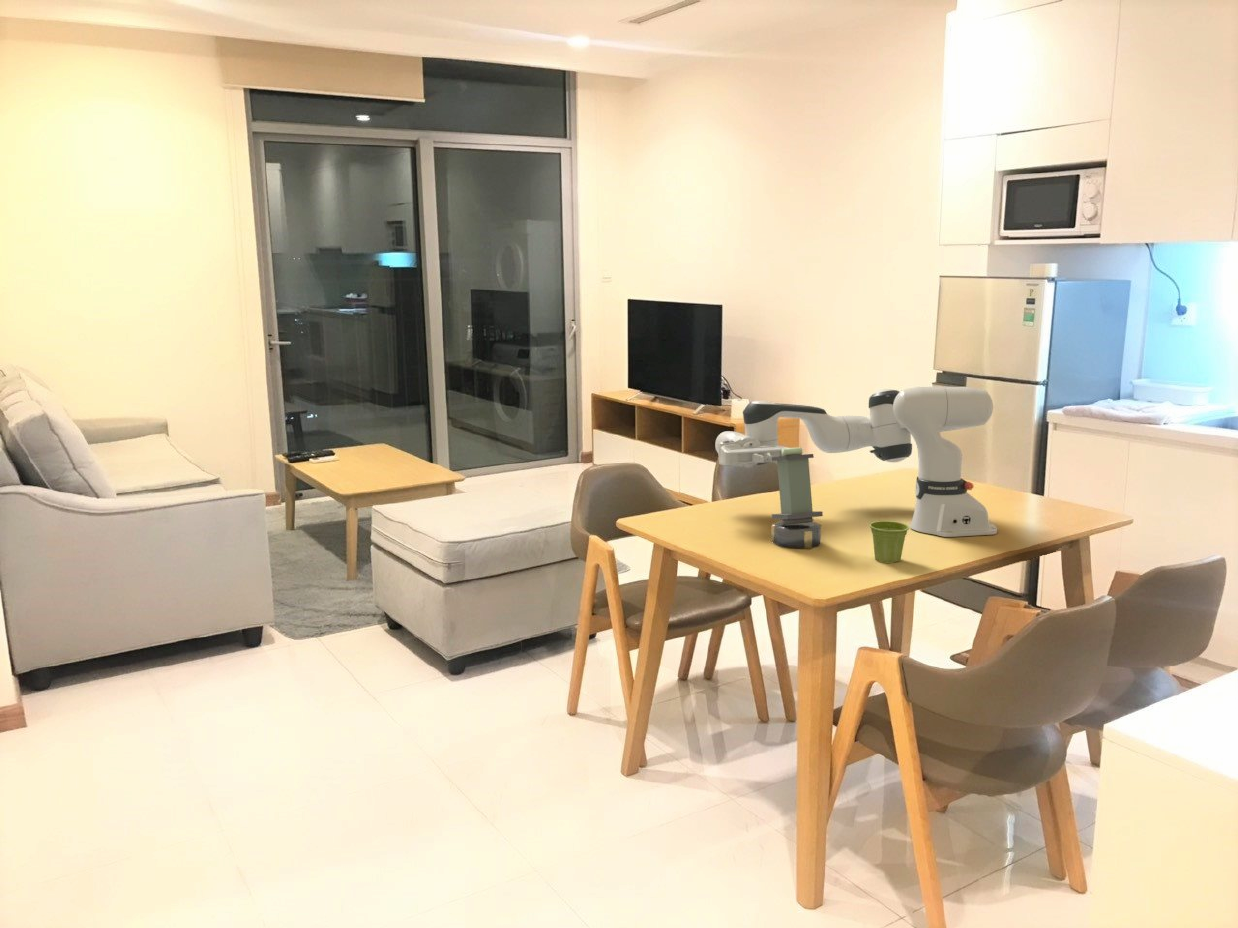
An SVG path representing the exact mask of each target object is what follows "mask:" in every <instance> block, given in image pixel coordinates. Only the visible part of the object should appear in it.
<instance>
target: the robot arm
mask: <svg viewBox="0 0 1238 928" xmlns="http://www.w3.org/2000/svg"><path fill="white" fill-rule="evenodd" d="M868 409H869V417H867V416H860V415H841V416H840V415H838V416H832V415H829V414H828V412H827V411H826V409H823V408H821V407H817V406H811V405H803V404H802V405H801V404H790V403H789V404H787V403H777V402H772V401H768V400H762V399H761V400H753V401H750V402H749V403H748V404H747V405H746V406H745V407H744V409H743V411H742V418H743V424H744V434H743V433H741V432H738V431H733V430H732V431H730V430H729V431H728V430H727V431H723V432H721V433H720V434H718V435H717V437H716V439H715V444H714V445H715V446H714V447H715V451H716V452H717V455H718V458H717V459H718V464H719V465H721V466H737V467H742V468H752V467H754V466H761V465H765V464H769V463H775V462H776V463H777V461H772V457H780V456H782V449H784V448H790V447H789V446H788V447H787V446H783V445H779V438H778V437H779V436H778V435H779V434H778V433H779V432H778V421H779V419H780V418H790V419H798V420H799V419H800V420H801V421H802V422H803V423H804V424H805V425H804V426H805V427H806V429H807V431H808V433H809V437H810V439H811V441H812V442H813V444H814V445H815V446H816V447H817V448H818V449H819V450H820V451H821V452H823V453H826V454H840V453H848V452H852V451H856V450H860V449H863V448H867V447H872V448H873V449H871V450H869V453H870V454H874V456H875V457H876V458H877V459H879V460H881V461H882V462H887V463H900V462H902V461H904V460H905V459H907V458H909V457H911V455H912V452H913V444H912V438H911V437H913V440H914V442H915V445H916V448H917V456H918V458H917V459H918V475H917V476H916V482H915V493H914V494H915V497H916V499H915V500H916V501H915V506H914V507H915V508H914V510H913V511H914V512H913V516H912V518H911V519H912V520H911V522H910V525H909V529H912V530H913V531H917V532H920V533H923V534H929V535H935V536H938V537H939V536H940V537H944V538H952V537H970V536H972V537H973V536H985V535H988V536H989V535H997V533H998V528H997V526H996V525H995V524H994V523H992V522H990V518H989V512H988V509H987V508H986V507H985V506H984V505H983V504H982V503H981V502H980V501H979V500H978V499H976V498H975V497H974V496H972V495H971V494H970V493H969V492H968V491H973V489H974V487H975V486H974V484H973V483H972V482H970V481H967V480H965V479H964V478H962V461H963V460H962V459H963V454H962V453H963V452H962V451H961V448H960V447H959V446H958V445H957V444H955V443H954V442H952V441H950V440H948V439H946V438H944V437H942V435H941V432H950V431H955V430H963V429H968V428H972V427H974V428H975V427H979V426H983V425H985V424H986V423H988V422H989V420H990V419H991V417H992V415H993V412H994V403H993V399H992V396H991V395H990V394H989V392H988V391H987V390H985V389H982V388H977V387H971V386H916V387H911V388H906V389H902V390H900V391H899V390H897V389H891V388H886V389H881V390H878V391H876V392H875V393H872V395H870V397H869V398H868Z"/></svg>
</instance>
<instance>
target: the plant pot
mask: <svg viewBox="0 0 1238 928" xmlns="http://www.w3.org/2000/svg"><path fill="white" fill-rule="evenodd" d="M869 528H870V529H871V530H870V531H871V533H872V539H873V542H872V543H873V549H874V553H873V554H874V559H875V560H876V561H879V562H881V563H887V564H893V563H896V562H900V561H901V559H902V555H903V550H904V544H905V538H906V536H907V533H908V531H909V530H910V525H909V524H907V523H903V522H901V521H900V522H899V521H895V520H894V521H893V520H892V521H890V520H880V521H879V520H876V521H872V522H871V523H869Z"/></svg>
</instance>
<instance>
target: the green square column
mask: <svg viewBox="0 0 1238 928" xmlns="http://www.w3.org/2000/svg"><path fill="white" fill-rule="evenodd" d="M813 458H815V457H814V454H813V453H806V454H803V448H802V447H789V448H784V449H782V456H780V457H772V461H777V462H776V464H777V476H778V477H777V478H778V489H779V492H778V493H779V501H780V513H773V514H771V520H781V521H782V523H783V525H789V524H799V523H809V522H812V521H813V522H814V519H813V518H815V517H816V518H817V517H823V516H824V515H823V513H824V512H823V511H820V510H819V511H818V510H817V511H816V510H815V511H813V499H812V497H813V496H812V489H811V488H812V487H811V476H810V475H811V474H810V462H809V461H810V460H809V459H813Z"/></svg>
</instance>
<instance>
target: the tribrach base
mask: <svg viewBox="0 0 1238 928" xmlns="http://www.w3.org/2000/svg"><path fill="white" fill-rule="evenodd" d="M821 527H822V525H821V524H820V523H818V522H816V521H814V520H813V521H812V522H809V523H799V524H789V525H783V523H782V520H779V521H776V522H775V523H772V524H771V531H770V534H771V535H770V538H771V539H770V542H771V543H772V542H773V544H774V545H775V546H777V547H780V548H785V549H789V550H790V549H792V550H812V549H813V548H818V547H819V546H820V545H821V534H822V528H821Z"/></svg>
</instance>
